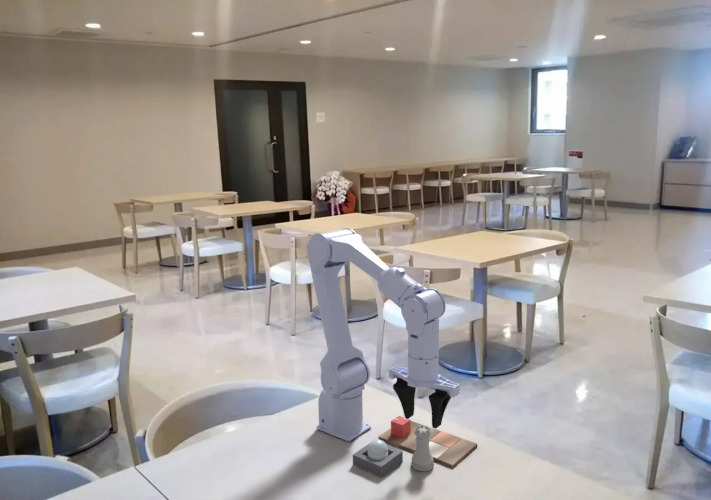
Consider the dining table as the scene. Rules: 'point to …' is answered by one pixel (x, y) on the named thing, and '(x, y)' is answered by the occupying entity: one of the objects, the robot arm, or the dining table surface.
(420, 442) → the rook chess piece
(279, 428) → the dining table surface
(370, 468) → the dome housing
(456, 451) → the game board
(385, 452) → the dome button
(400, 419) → the red die
